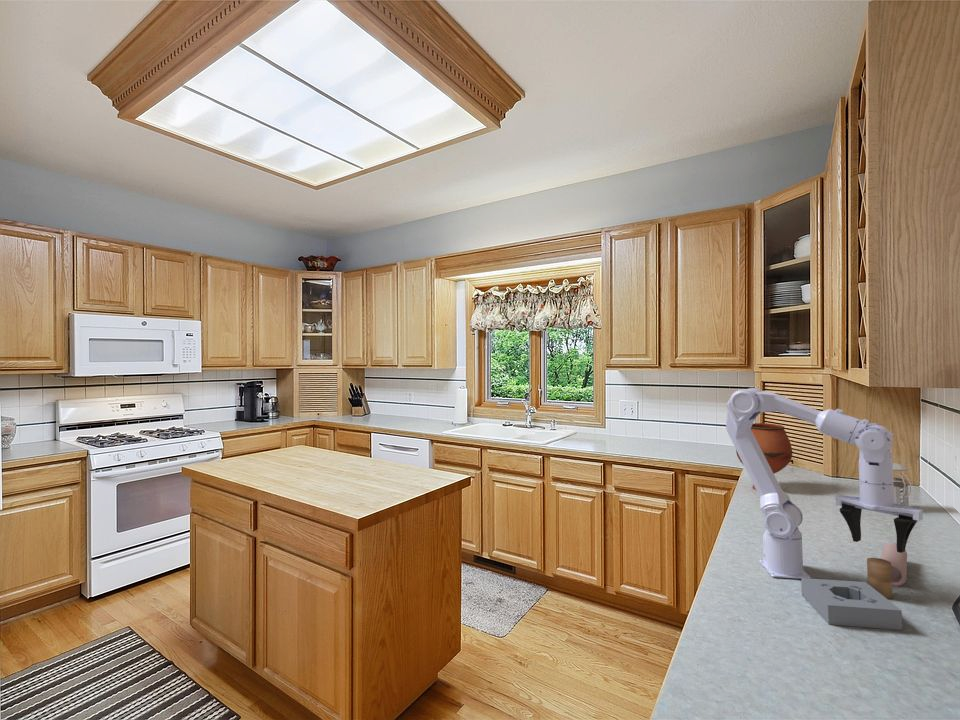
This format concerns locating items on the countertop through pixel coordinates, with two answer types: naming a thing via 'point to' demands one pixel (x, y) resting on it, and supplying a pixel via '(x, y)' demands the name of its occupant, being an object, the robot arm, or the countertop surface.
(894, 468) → the french press
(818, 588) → the bore block
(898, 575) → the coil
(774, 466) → the goblet
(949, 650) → the countertop surface
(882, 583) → the walnut pin
